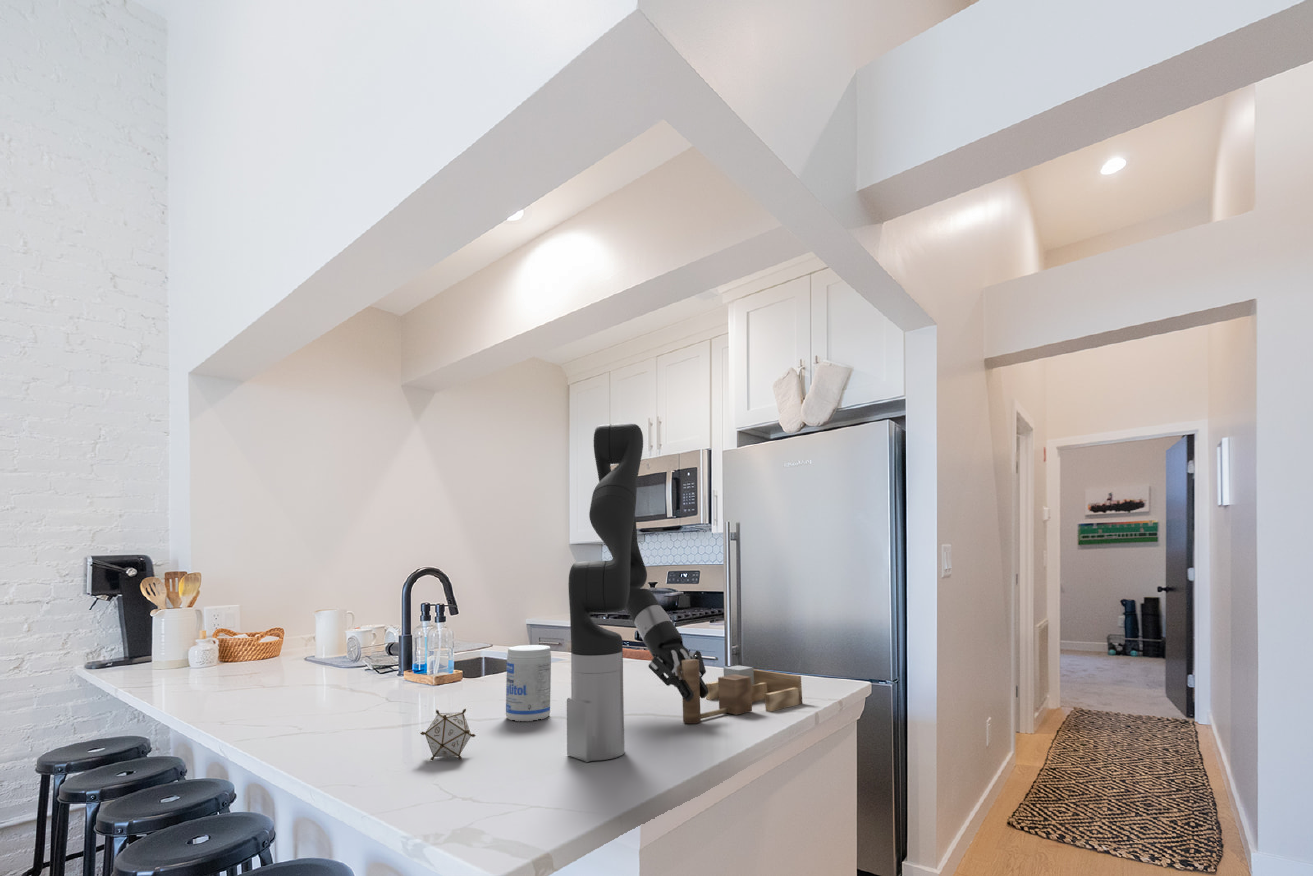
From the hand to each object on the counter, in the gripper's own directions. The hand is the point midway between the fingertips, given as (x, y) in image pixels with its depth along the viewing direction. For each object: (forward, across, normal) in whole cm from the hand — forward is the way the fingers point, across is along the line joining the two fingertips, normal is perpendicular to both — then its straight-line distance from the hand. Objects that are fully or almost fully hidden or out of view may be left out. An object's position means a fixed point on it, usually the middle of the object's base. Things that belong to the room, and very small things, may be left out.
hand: (697, 696), depth 143 cm
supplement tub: (-18, -21, +26) cm, 38 cm away
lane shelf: (-1, +24, +8) cm, 25 cm away
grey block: (-4, +24, +12) cm, 27 cm away
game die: (-6, -47, +14) cm, 49 cm away
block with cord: (+2, +7, +5) cm, 9 cm away
